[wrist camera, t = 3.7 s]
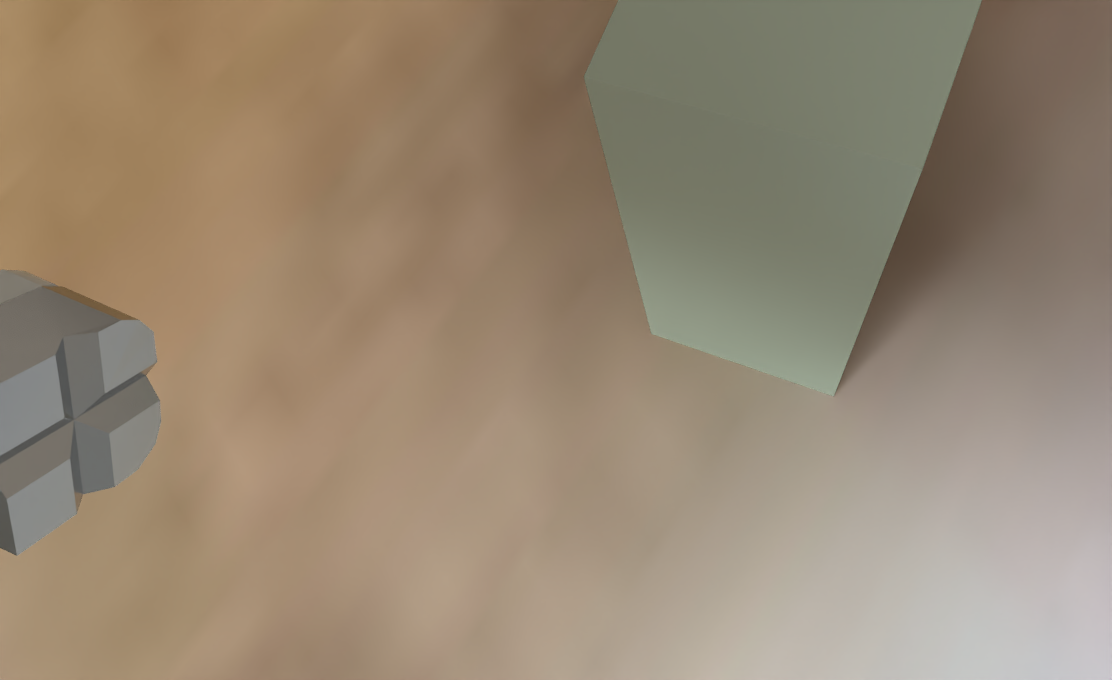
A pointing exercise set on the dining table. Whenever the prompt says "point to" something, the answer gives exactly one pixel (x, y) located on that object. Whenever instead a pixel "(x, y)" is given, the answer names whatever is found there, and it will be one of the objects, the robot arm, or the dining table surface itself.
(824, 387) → the sage green slab
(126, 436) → the robot arm
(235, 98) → the dining table surface
